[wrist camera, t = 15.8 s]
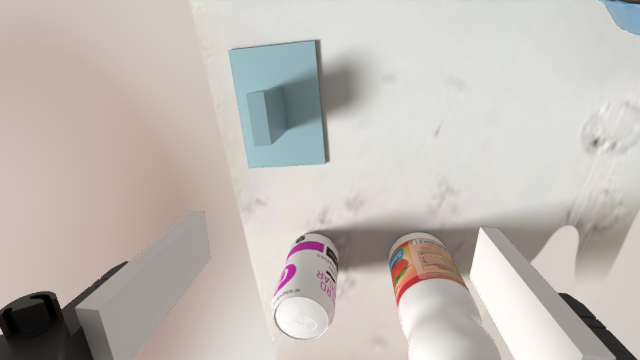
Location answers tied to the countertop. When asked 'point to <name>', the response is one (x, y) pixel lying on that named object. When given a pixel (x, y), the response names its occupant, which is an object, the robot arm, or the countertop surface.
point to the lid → (279, 104)
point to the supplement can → (307, 289)
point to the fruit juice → (436, 303)
